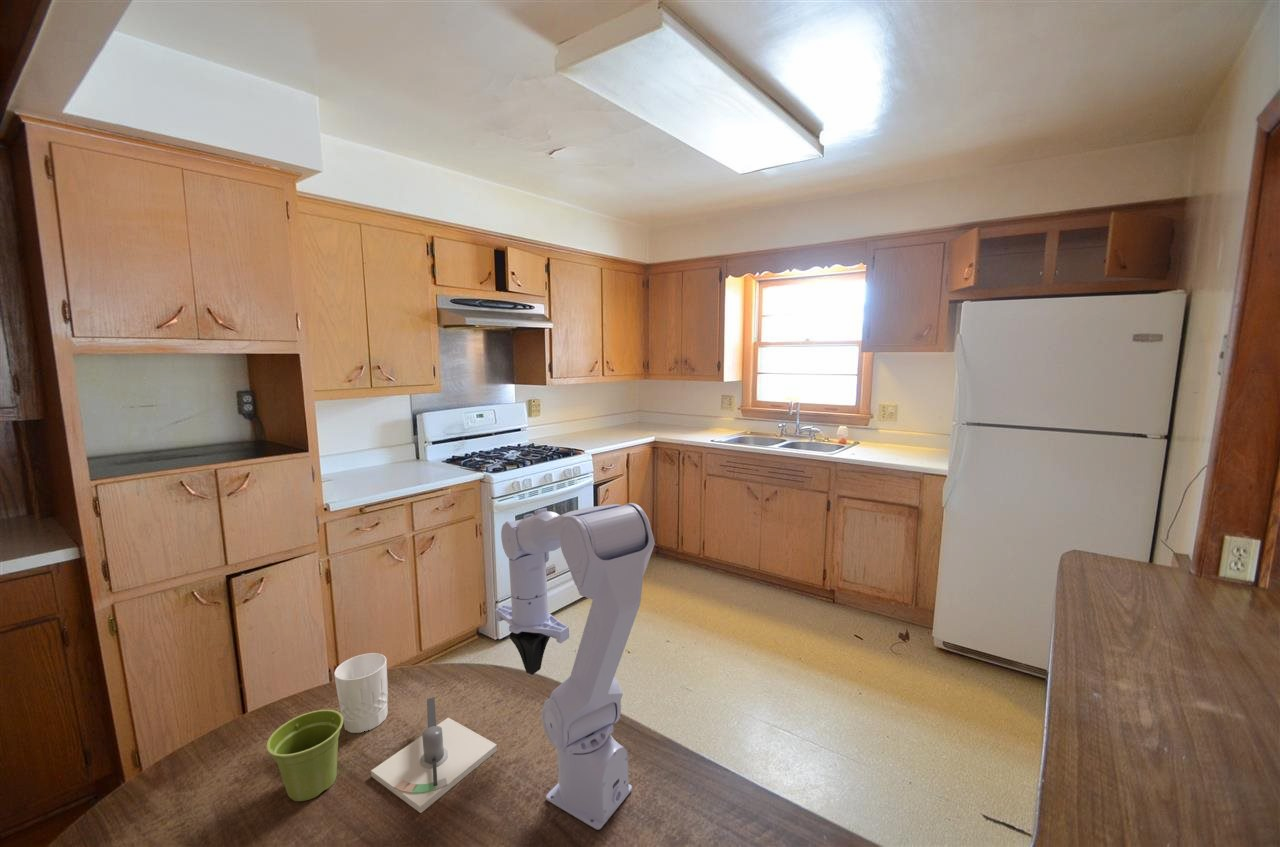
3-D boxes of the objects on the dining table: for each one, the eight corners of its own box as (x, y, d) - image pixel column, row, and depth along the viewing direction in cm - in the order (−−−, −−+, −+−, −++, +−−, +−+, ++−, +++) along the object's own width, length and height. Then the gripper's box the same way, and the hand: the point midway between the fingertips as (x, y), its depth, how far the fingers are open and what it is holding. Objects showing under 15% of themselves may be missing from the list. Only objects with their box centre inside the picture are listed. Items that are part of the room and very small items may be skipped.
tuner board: (497, 750, 83) (497, 743, 83) (421, 814, 72) (420, 806, 71) (448, 722, 89) (448, 716, 89) (371, 776, 78) (370, 769, 78)
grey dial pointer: (446, 784, 75) (444, 759, 74) (425, 791, 74) (422, 765, 73) (441, 715, 89) (439, 693, 89) (423, 720, 88) (421, 698, 88)
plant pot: (261, 820, 71) (254, 762, 70) (287, 768, 80) (281, 716, 79) (338, 803, 74) (332, 746, 73) (355, 754, 83) (350, 703, 82)
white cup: (329, 727, 89) (323, 672, 88) (372, 700, 96) (367, 648, 95) (359, 742, 85) (353, 685, 84) (401, 712, 92) (396, 659, 91)
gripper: (478, 591, 85) (484, 669, 87) (545, 613, 77) (549, 698, 79) (511, 575, 91) (515, 649, 93) (576, 594, 83) (579, 674, 85)
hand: (533, 670), depth 86 cm, fingers closed
